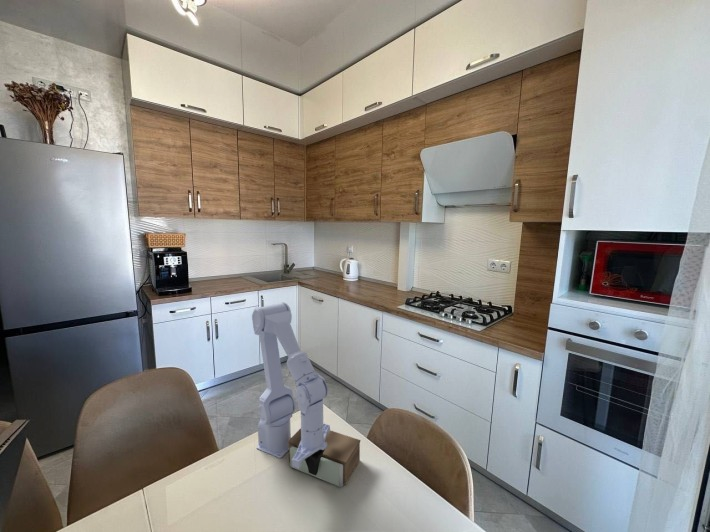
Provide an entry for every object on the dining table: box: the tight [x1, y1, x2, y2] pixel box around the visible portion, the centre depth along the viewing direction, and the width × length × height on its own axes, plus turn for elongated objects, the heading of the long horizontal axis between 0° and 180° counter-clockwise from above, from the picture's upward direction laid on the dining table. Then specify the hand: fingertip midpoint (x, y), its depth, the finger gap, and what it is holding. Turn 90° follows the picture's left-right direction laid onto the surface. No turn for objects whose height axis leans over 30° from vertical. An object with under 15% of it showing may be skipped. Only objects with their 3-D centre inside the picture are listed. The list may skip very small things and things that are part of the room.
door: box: [289, 446, 344, 488], centre depth 78 cm, size 16×2×6 cm, turn 65°
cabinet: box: [288, 427, 361, 486], centre depth 83 cm, size 18×9×6 cm, turn 65°
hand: (313, 473), depth 77 cm, fingers closed
